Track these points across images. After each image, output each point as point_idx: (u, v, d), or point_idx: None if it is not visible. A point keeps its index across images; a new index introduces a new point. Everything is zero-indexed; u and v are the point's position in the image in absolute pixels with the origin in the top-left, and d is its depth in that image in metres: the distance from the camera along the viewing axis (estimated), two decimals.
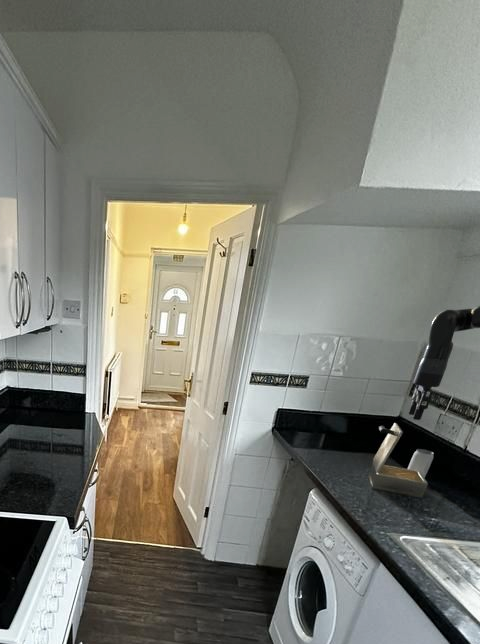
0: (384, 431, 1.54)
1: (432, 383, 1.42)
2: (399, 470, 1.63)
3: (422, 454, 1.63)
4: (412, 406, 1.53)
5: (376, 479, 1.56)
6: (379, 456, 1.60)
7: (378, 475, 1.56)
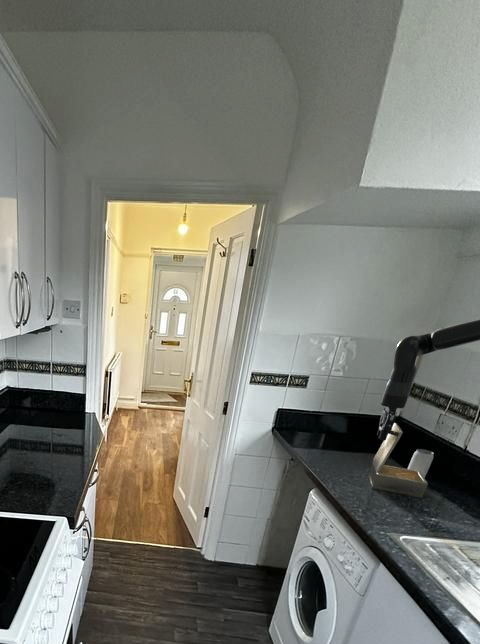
0: None
1: (397, 404, 1.48)
2: (399, 470, 1.63)
3: (422, 454, 1.63)
4: None
5: (376, 479, 1.56)
6: (379, 456, 1.60)
7: (378, 475, 1.56)
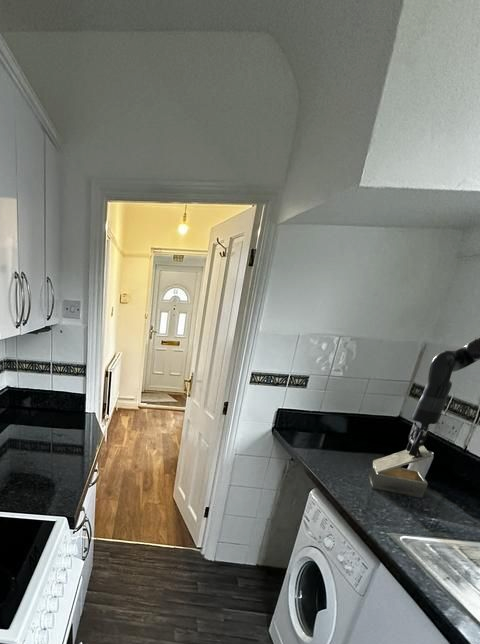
0: None
1: (430, 420, 1.46)
2: (399, 470, 1.63)
3: None
4: (410, 443, 1.56)
5: (376, 479, 1.56)
6: (387, 461, 1.59)
7: (378, 475, 1.56)
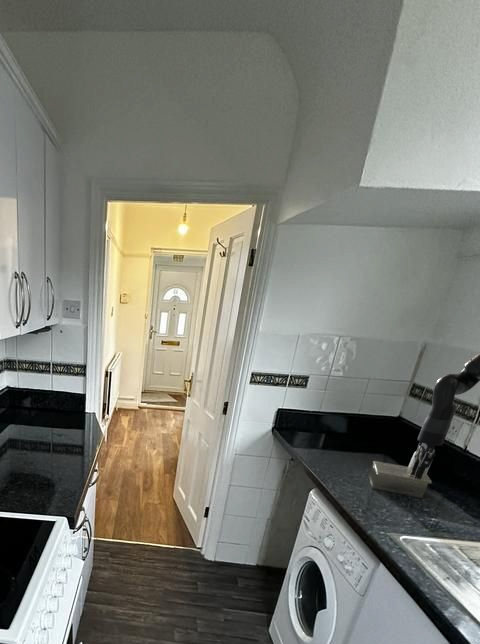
0: None
1: (436, 442, 1.47)
2: None
3: None
4: (416, 463, 1.57)
5: (376, 479, 1.56)
6: (388, 467, 1.60)
7: (378, 475, 1.56)
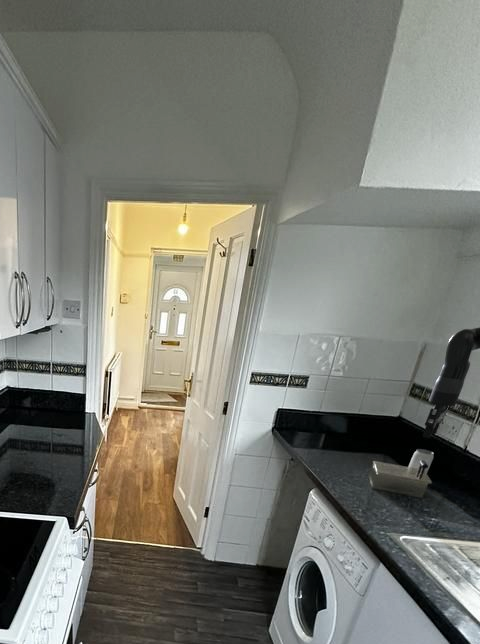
0: (424, 467, 1.52)
1: (443, 401, 1.41)
2: None
3: (422, 454, 1.63)
4: None
5: (376, 479, 1.56)
6: (388, 467, 1.60)
7: (378, 475, 1.56)
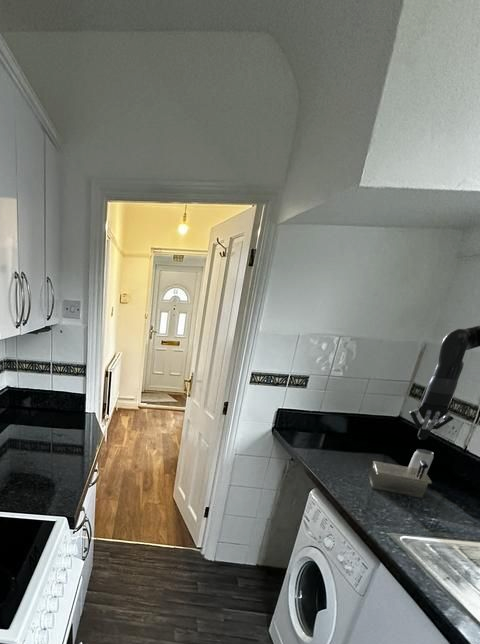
0: (424, 467, 1.52)
1: (424, 399, 1.43)
2: None
3: (422, 454, 1.63)
4: None
5: (376, 479, 1.56)
6: (388, 467, 1.60)
7: (378, 475, 1.56)
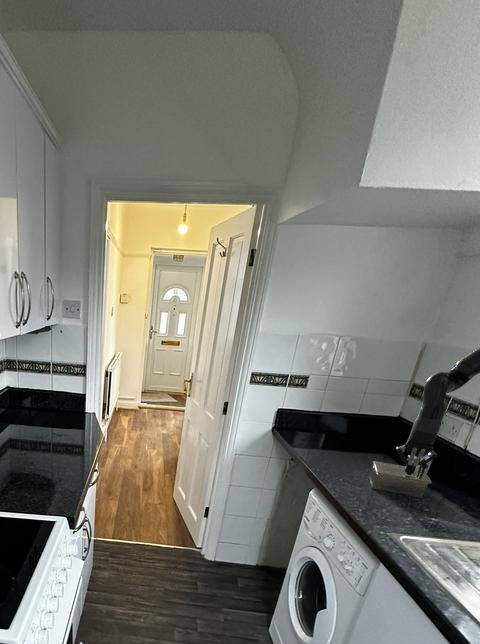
0: (424, 467, 1.52)
1: (410, 437, 1.49)
2: None
3: None
4: None
5: (376, 479, 1.56)
6: (388, 467, 1.60)
7: (378, 475, 1.56)
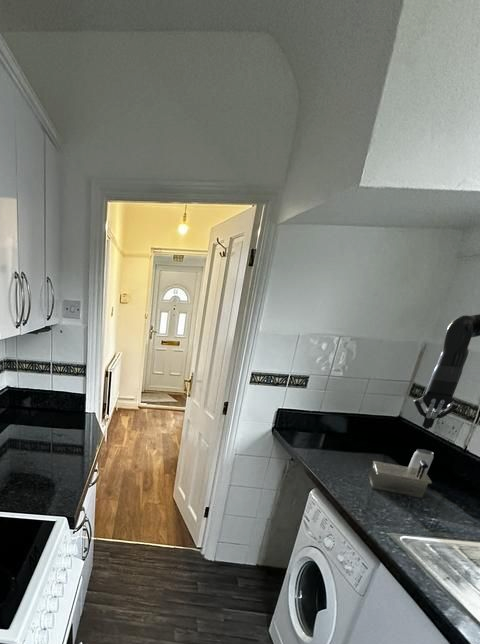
0: (424, 467, 1.52)
1: (428, 387, 1.42)
2: None
3: (422, 454, 1.63)
4: None
5: (376, 479, 1.56)
6: (388, 467, 1.60)
7: (378, 475, 1.56)
